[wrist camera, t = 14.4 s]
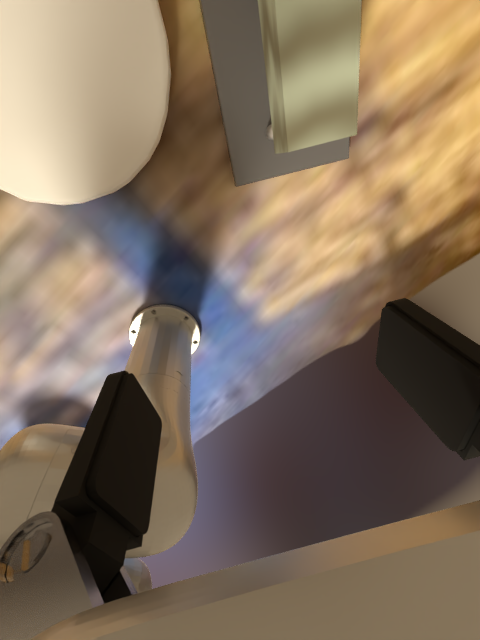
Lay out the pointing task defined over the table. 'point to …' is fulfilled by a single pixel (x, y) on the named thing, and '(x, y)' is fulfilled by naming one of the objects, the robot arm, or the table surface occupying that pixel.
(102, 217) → the table surface
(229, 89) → the peg stand
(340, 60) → the pale green rectangular block
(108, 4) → the plate
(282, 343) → the table surface
